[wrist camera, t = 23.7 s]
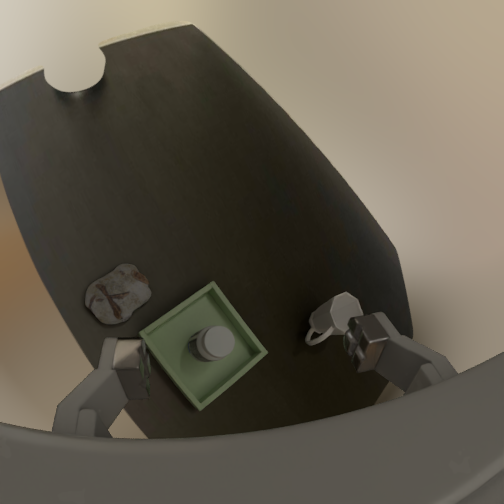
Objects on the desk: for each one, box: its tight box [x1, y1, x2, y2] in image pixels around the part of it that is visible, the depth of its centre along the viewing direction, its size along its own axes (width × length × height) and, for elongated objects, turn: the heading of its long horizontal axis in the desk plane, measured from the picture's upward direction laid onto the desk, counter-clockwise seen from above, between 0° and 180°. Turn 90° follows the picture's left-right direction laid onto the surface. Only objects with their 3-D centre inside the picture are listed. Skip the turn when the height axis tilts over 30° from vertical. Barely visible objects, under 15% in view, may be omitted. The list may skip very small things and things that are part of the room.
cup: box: [305, 292, 363, 346], centre depth 50 cm, size 7×10×8 cm
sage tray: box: [138, 281, 268, 411], centre depth 43 cm, size 14×14×3 cm
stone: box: [85, 264, 151, 324], centre depth 41 cm, size 10×7×3 cm
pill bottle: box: [188, 326, 235, 362], centre depth 41 cm, size 5×5×8 cm
